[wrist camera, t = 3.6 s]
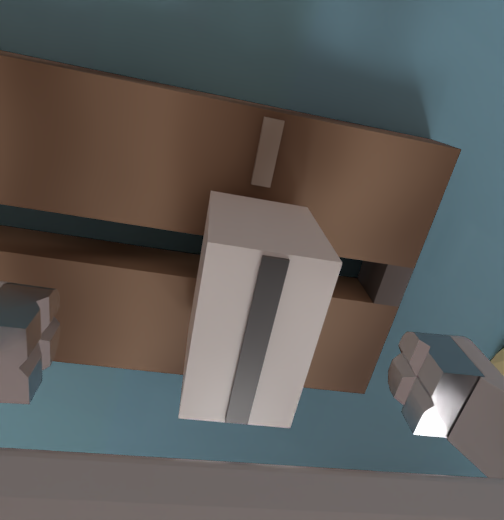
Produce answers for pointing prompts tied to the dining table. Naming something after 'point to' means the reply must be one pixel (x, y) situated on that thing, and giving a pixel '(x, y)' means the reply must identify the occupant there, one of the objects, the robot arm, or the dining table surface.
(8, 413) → the dining table surface
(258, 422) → the fader knob
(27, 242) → the fader console
